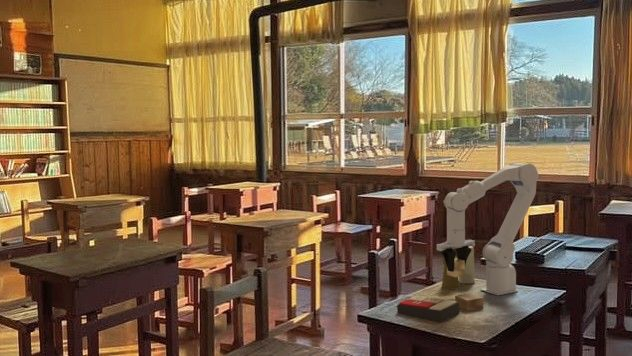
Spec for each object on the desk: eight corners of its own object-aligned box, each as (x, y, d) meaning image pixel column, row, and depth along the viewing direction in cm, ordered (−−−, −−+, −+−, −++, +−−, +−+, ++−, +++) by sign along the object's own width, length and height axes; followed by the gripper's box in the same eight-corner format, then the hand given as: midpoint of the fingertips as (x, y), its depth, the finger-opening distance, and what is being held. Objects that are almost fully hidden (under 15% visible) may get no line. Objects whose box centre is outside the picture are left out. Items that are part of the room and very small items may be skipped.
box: (472, 280, 218) (472, 245, 217) (474, 283, 213) (474, 247, 212) (457, 280, 218) (457, 245, 217) (459, 283, 214) (459, 247, 213)
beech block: (456, 273, 201) (456, 258, 201) (464, 275, 198) (464, 260, 197) (447, 274, 199) (446, 259, 199) (455, 277, 196) (455, 262, 196)
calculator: (415, 294, 190) (459, 299, 180) (416, 307, 190) (460, 314, 180) (396, 302, 181) (440, 308, 171) (397, 316, 182) (441, 323, 172)
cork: (462, 286, 210) (462, 255, 209) (453, 290, 205) (453, 258, 204) (447, 284, 214) (447, 253, 213) (438, 287, 209) (438, 256, 209)
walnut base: (470, 304, 190) (470, 293, 190) (483, 309, 184) (483, 297, 184) (455, 306, 188) (455, 295, 187) (467, 311, 182) (467, 300, 182)
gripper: (464, 225, 204) (464, 265, 205) (430, 229, 197) (430, 270, 199) (479, 228, 198) (479, 269, 199) (444, 232, 191) (444, 274, 192)
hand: (456, 270), depth 198 cm, fingers closed on beech block, 4 cm apart
